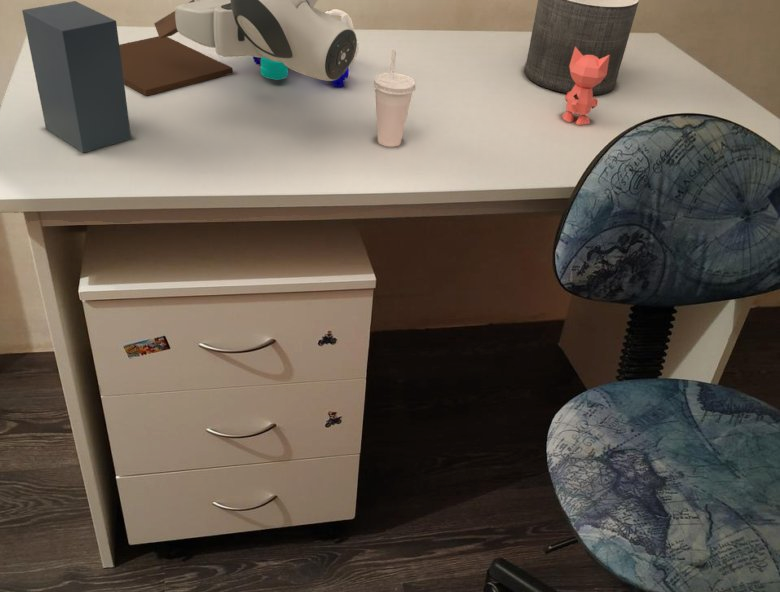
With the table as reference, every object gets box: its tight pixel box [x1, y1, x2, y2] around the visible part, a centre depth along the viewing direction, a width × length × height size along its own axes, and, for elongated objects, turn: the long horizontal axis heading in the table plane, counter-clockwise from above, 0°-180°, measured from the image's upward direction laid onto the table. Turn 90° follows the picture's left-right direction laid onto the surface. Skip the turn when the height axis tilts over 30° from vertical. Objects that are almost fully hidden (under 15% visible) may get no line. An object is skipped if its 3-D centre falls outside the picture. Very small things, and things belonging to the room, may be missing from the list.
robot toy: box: [251, 8, 360, 88], centre depth 141 cm, size 16×12×25 cm
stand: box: [21, 0, 132, 154], centre depth 114 cm, size 8×10×17 cm
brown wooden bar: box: [153, 0, 194, 38], centre depth 128 cm, size 2×20×2 cm
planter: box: [523, 0, 640, 96], centre depth 151 cm, size 18×18×16 cm
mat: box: [119, 35, 233, 97], centre depth 141 cm, size 18×20×1 cm
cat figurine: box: [561, 47, 610, 126], centre depth 136 cm, size 7×7×12 cm
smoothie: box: [372, 49, 416, 148], centre depth 122 cm, size 6×6×14 cm
